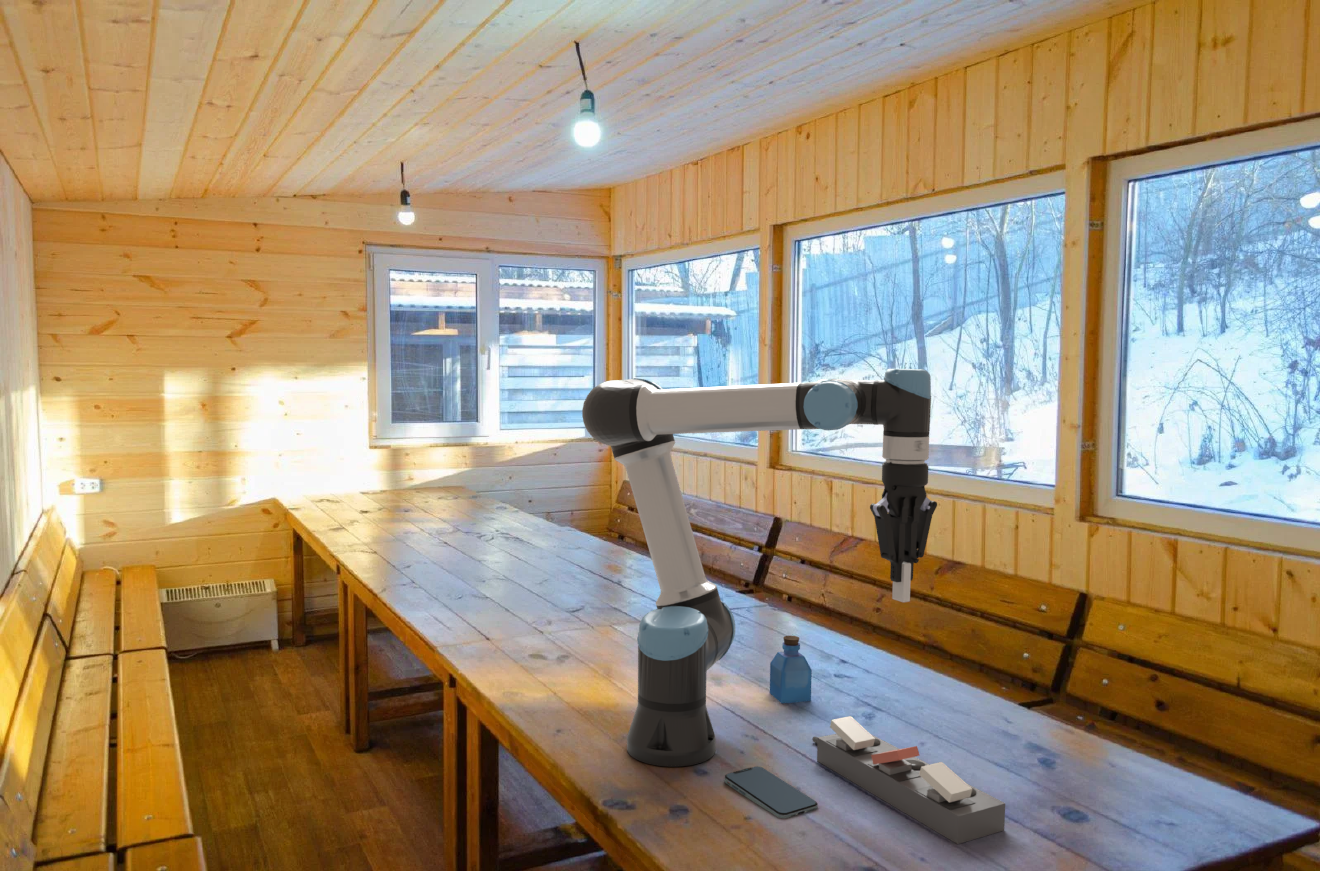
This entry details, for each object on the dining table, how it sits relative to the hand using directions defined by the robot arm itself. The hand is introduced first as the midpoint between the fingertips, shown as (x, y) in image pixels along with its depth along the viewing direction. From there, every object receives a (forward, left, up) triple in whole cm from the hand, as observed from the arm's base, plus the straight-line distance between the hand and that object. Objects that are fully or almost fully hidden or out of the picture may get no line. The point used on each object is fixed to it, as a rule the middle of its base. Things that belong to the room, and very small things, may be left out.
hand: (901, 600), depth 169 cm
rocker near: (-12, -24, -20) cm, 33 cm away
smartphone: (-29, -4, -27) cm, 40 cm away
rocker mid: (-12, -13, -20) cm, 27 cm away
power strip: (-10, -10, -26) cm, 30 cm away
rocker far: (-12, -2, -20) cm, 24 cm away
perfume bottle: (0, +31, -27) cm, 41 cm away
